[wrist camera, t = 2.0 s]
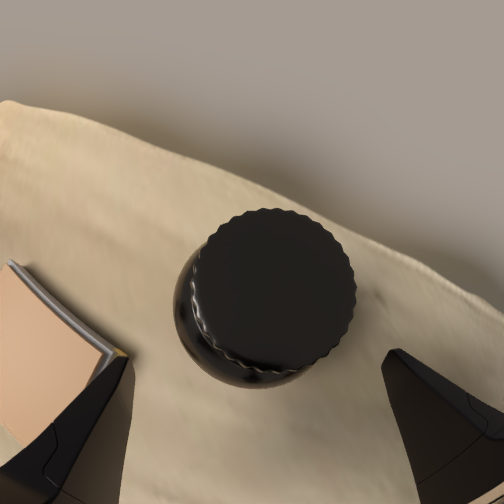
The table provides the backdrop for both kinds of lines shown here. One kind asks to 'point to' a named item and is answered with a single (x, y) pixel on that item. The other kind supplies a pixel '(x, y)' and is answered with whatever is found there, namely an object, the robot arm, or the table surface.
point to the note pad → (41, 355)
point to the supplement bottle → (264, 299)
